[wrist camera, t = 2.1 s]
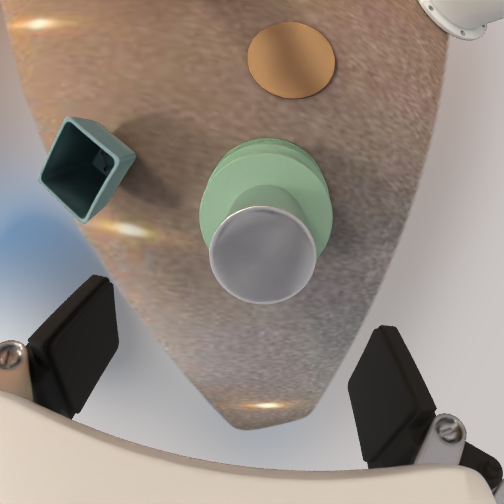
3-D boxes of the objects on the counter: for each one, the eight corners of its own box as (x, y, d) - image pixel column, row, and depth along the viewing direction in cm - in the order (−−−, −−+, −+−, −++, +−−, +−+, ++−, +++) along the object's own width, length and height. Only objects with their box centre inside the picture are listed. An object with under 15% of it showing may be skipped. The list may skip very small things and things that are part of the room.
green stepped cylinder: (281, 114, 31) (285, 107, 22) (347, 211, 35) (371, 240, 26) (187, 184, 35) (157, 203, 26) (254, 270, 39) (248, 314, 30)
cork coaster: (299, 10, 26) (299, 9, 25) (350, 72, 28) (351, 72, 28) (230, 51, 28) (230, 50, 28) (281, 114, 31) (282, 114, 31)
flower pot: (120, 205, 37) (83, 226, 28) (77, 167, 35) (36, 180, 27) (155, 152, 34) (121, 160, 25) (108, 114, 32) (66, 114, 24)
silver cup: (275, 167, 24) (276, 183, 17) (318, 230, 26) (335, 271, 18) (212, 212, 26) (187, 245, 18) (256, 269, 28) (250, 320, 20)
